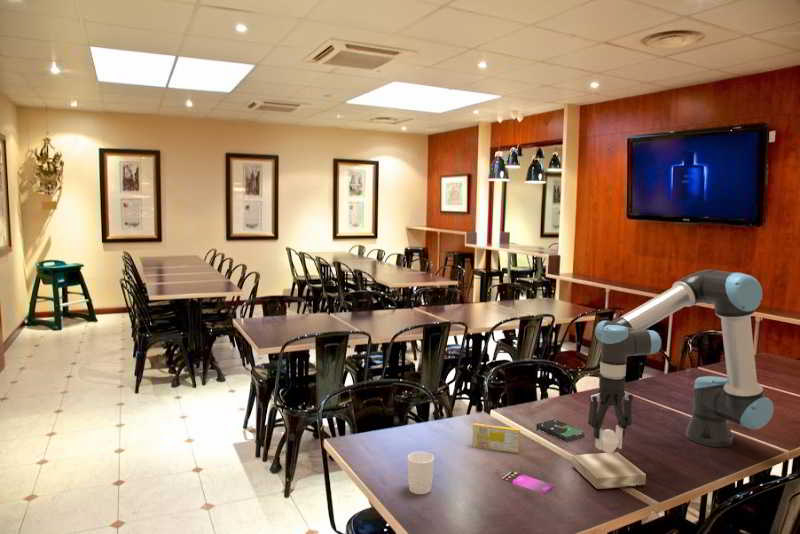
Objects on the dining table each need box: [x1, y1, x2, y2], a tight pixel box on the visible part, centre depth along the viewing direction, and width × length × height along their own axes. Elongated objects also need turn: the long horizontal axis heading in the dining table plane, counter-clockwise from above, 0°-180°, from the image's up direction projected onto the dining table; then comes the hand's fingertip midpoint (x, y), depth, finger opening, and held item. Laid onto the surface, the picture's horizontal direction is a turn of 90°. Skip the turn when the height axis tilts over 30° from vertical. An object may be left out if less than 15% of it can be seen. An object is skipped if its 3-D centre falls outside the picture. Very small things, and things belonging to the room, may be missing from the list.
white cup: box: [406, 451, 435, 495], centre depth 171 cm, size 8×8×10 cm
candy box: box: [471, 422, 521, 454], centre depth 200 cm, size 16×2×8 cm, turn 71°
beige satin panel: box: [571, 451, 647, 490], centre depth 181 cm, size 16×16×4 cm
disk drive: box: [536, 418, 586, 443], centre depth 215 cm, size 10×3×15 cm
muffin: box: [601, 428, 619, 453], centre depth 180 cm, size 6×6×7 cm
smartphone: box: [499, 470, 555, 495], centre depth 177 cm, size 7×15×1 cm, turn 50°
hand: (608, 447), depth 180 cm, fingers closed on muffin, 6 cm apart
